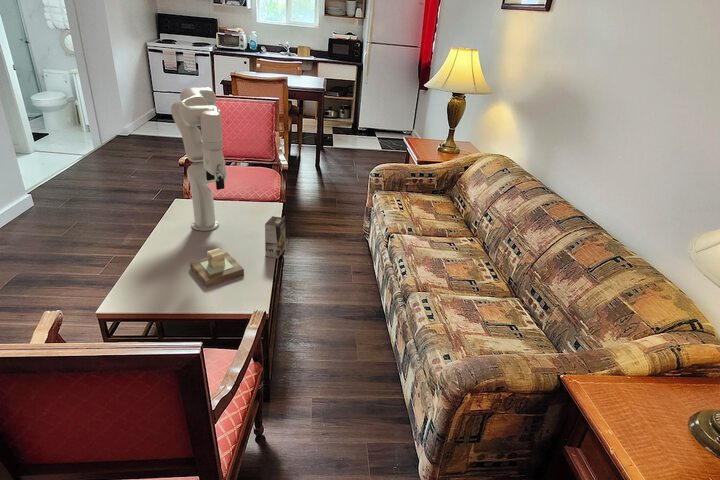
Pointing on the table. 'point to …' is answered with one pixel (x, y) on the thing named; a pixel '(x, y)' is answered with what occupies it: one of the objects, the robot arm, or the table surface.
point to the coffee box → (275, 237)
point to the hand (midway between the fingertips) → (215, 184)
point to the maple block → (216, 258)
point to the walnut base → (216, 271)
